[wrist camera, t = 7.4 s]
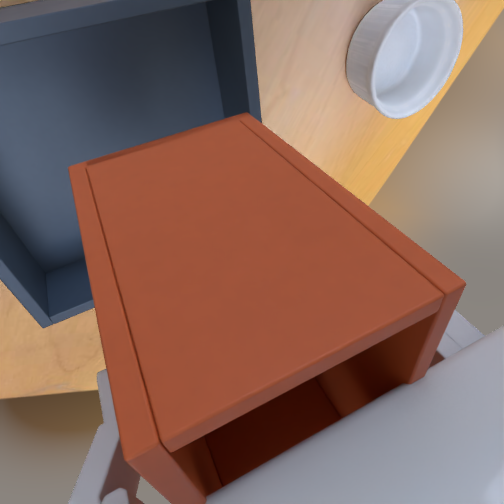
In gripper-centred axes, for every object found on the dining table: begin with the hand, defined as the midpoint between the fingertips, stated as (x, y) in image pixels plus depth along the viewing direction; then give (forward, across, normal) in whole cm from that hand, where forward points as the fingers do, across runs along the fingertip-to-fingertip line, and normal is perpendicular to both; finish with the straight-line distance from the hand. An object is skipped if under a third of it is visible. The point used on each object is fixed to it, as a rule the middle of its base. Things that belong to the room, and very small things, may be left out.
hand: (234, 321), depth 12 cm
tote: (+4, 0, 0) cm, 4 cm away
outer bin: (+20, +1, +1) cm, 20 cm away
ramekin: (+20, -23, 0) cm, 30 cm away
